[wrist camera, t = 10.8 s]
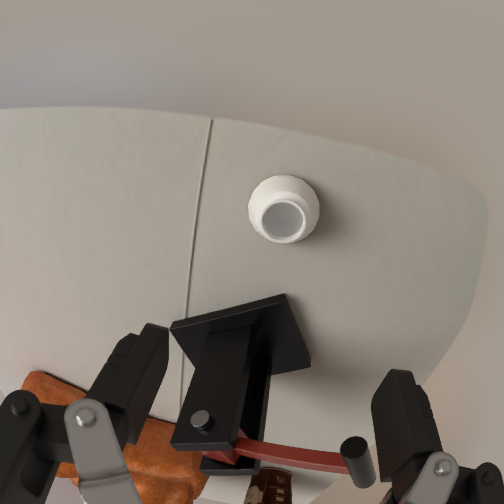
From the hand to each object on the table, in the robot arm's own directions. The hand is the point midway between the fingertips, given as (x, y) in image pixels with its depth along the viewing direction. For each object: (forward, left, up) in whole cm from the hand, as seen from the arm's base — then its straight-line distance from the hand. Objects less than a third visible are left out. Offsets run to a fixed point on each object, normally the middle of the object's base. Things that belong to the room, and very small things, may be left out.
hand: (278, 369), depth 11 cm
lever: (-3, +10, -3) cm, 11 cm away
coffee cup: (-8, +42, -15) cm, 45 cm away
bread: (+17, +38, -15) cm, 44 cm away
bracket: (+1, +13, -15) cm, 20 cm away
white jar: (0, -1, -15) cm, 15 cm away
